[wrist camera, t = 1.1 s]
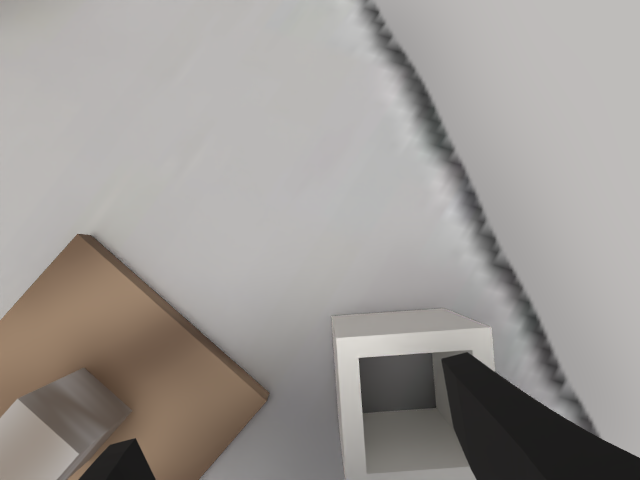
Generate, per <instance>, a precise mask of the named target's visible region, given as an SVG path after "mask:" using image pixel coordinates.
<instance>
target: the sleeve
mask: <svg viewBox="0 0 640 480" xmlns="http://www.w3.org/2000/svg"><path fill="white" fill-rule="evenodd" d="M331 321H332V335H333V349H334V364H335V378H336V393H337V407H338V422H339V434H340V442H341V450H342V459H343V467H344V476H345V480H476V478H475V476H474V474H473V472H472V470H471V468H470V466H469V464H468V461H467V459H466V457H465V454H464V452H463V450H462V447H461V445H460V443H459V440H458V438H457V435H456V433H455V431H454V428H453V423H452V417H451V411H450V406H449V400H448V395H447V389H446V383H445V378H444V372H443V367H442V361H441V359H442V358H446V357H450V356H454V355H458V354H461V353H465V352H468V353H469V354H471V355H473V356H474V357H475V358H477V359H478V360H479V361H481V362H482V363H483V364H485V365H486V366H488V367H489V368H490V369H492V370H493V371H494V372H495V363H494V351H493V338H492V327H490V326H487V325H485V324H482V323H480V322H477V321H475V320H472V319H470V318H467V317H465V316H462V315H460V314H457V313H455V312H452V311H450V310H447V309H445V308H438V309H424V310H409V311H395V312H380V313H366V314H352V315H337V316H331ZM420 353H432V360H433V373H434V386H435V399H436V408H426V409H412V410H398V411H384V412H370V413H362V400H361V386H360V372H359V358H363V357H377V356H391V355H406V354H420Z"/></svg>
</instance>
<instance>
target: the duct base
mask: <svg viewBox="0 0 640 480" xmlns="http://www.w3.org/2000/svg"><path fill="white" fill-rule="evenodd" d="M268 396H269V392H268V391H267V390H265V389H264V388H263V387H262V386H261V385H260V384H259V383H258V382H256V381H255V380H254V379H253V378H252V377H251V376H250V375H248V374H247V373H246V372H245V371H244V370H243V369H242V368H241V367H239V366H238V365H237V364H236V363H235V362H234V361H233V360H231V359H230V358H229V357H228V356H227V355H226V354H225V353H224V352H222V351H221V350H220V349H219V348H218V347H217V346H216V345H215V344H213V343H212V342H211V341H210V340H209V339H208V338H207V337H205V336H204V335H203V334H202V333H201V332H200V331H199V330H198V329H196V328H195V327H194V326H193V325H192V324H191V323H190V322H188V321H187V320H186V319H185V318H184V317H183V316H182V315H181V314H179V313H178V312H177V311H176V310H175V309H174V308H173V307H172V306H170V305H169V304H168V303H167V302H166V301H165V300H164V299H162V298H161V297H160V296H159V295H158V294H157V293H156V292H155V291H153V290H152V289H151V288H150V287H149V286H148V285H147V284H145V283H144V282H143V281H142V280H141V279H140V278H139V277H138V276H136V275H135V274H134V273H133V272H132V271H131V270H130V269H129V268H127V267H126V266H125V265H124V264H123V263H122V262H121V261H119V260H118V259H117V258H116V257H115V256H114V255H113V254H112V253H110V252H109V251H108V250H107V249H106V248H105V247H104V246H102V245H101V244H100V243H99V242H98V241H97V240H96V239H95V238H93V237H92V236H91V235H84V234H77V235H76V236H75V237H74V238H73V240H72V241H71V242H70V243H69V244H68V245H67V246H66V247H65V249H64V250H63V251H62V252H61V253H60V254H59V255H58V256H57V257H56V259H55V260H54V261H53V262H52V263H51V264H50V265H49V266H48V268H47V269H46V270H45V271H44V272H43V273H42V274H41V275H40V276H39V278H38V279H37V280H36V281H35V282H34V283H33V284H32V285H31V287H30V288H29V289H28V290H27V291H26V292H25V293H24V294H23V296H22V297H21V298H20V299H19V300H18V301H17V302H16V303H15V304H14V306H13V307H12V308H11V309H10V310H9V311H8V312H7V313H6V315H5V316H4V317H3V318H2V319H1V320H0V480H78V479H79V478H80V477H81V476H82V475H83V474H84V472H85V471H86V470H87V469H88V468H89V467H90V466H91V464H92V463H93V462H94V461H95V460H96V459H97V458H98V457H99V456H100V455H101V453H102V452H103V451H104V450H105V449H106V448H107V447H108V446H109V445H111V444H114V443H118V442H122V441H126V440H130V439H134V438H136V440H137V442H138V444H139V446H140V448H141V450H142V452H143V454H144V456H145V458H146V460H147V462H148V464H149V466H150V469H151V471H152V473H153V475H154V477H155V479H156V480H199V479H200V478H201V476H202V475H203V474H204V473H205V472H206V471H207V469H208V468H209V467H210V466H211V465H212V464H213V463H214V461H215V460H216V459H217V458H218V457H219V456H220V454H221V453H222V452H223V451H224V450H225V449H226V448H227V446H228V445H229V444H230V443H231V442H232V441H233V439H234V438H235V437H236V436H237V435H238V434H239V432H240V431H241V430H242V429H243V428H244V427H245V426H246V424H247V423H248V422H249V421H250V420H251V419H252V417H253V416H254V415H255V414H256V413H257V412H258V411H259V409H260V408H261V407H262V406H263V405H264V404H265V402H266V401H267V399H268Z"/></svg>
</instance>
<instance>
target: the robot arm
mask: <svg viewBox="0 0 640 480" xmlns="http://www.w3.org/2000/svg"><path fill="white" fill-rule="evenodd" d="M441 361H442V367H443V372H444V378H445V383H446V389H447V395H448V400H449V406H450V411H451V417H452V423H453V428H454V431H455V433H456V435H457V438H458V440H459V443H460V445H461V447H462V450H463V452H464V454H465V457H466V459H467V461H468V464H469V466H470V468H471V470H472V472H473V474H474V476H475V478H476V480H640V458H639V457H637V456H635V455H632V454H631V453H629V452H627V451H624V450H623V449H620V448H619V447H617V446H614V445H612V444H610V443H608V442H606V441H604V440H602V439H601V438H599V437H597V436H595V435H593V434H591V433H590V432H588V431H586V430H584V429H583V428H581V427H579V426H577V425H576V424H574V423H572V422H571V421H569V420H567V419H565V418H564V417H562V416H560V415H559V414H557V413H556V412H554V411H552V410H551V409H549V408H547V407H546V406H544V405H543V404H541V403H540V402H538V401H537V400H535V399H534V398H532V397H531V396H529V395H528V394H526V393H524V392H523V391H521V390H520V389H519V388H517V387H516V386H514V385H513V384H511V383H510V382H508V381H507V380H506V379H504V378H503V377H501V376H500V375H499V374H497V373H496V372H494V371H493V370H492V369H490V368H489V367H488V366H486V365H485V364H483V363H482V362H481V361H479V360H478V359H477V358H475V357H474V356H473V355H471V354H469V353H468V352H465V353H461V354H458V355H454V356H450V357H446V358H442V359H441ZM78 480H156V479H155V477H154V475H153V473H152V471H151V469H150V466H149V464H148V462H147V460H146V458H145V456H144V454H143V452H142V450H141V448H140V446H139V444H138V442H137V440H136V438H134V439H130V440H126V441H122V442H118V443H114V444H111V445H109V446H108V447H107V448H106V449H105V450H104V451H103V452H102V453H101V455H100V456H99V457H98V458H97V459H96V460H95V461H94V462H93V463H92V464H91V466H90V467H89V468H88V469H87V470H86V471H85V472H84V474H83V475H82V476H81V477H80V478H79V479H78Z"/></svg>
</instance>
